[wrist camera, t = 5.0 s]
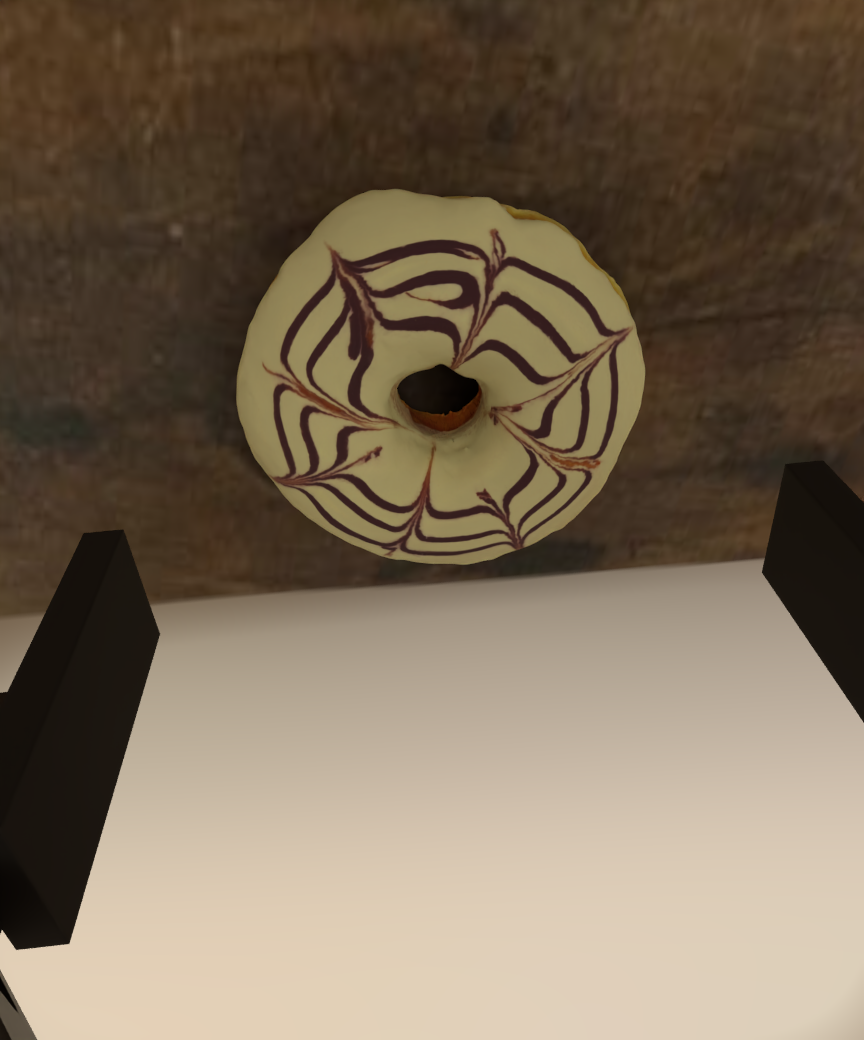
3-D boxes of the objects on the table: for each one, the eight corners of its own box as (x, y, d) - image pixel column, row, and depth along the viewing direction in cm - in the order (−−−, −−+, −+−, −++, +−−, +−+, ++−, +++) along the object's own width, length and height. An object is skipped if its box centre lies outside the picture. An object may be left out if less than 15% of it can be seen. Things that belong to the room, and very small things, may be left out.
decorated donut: (295, 114, 20) (282, 141, 17) (678, 246, 22) (730, 290, 19) (221, 467, 25) (201, 537, 22) (535, 541, 28) (557, 613, 24)
